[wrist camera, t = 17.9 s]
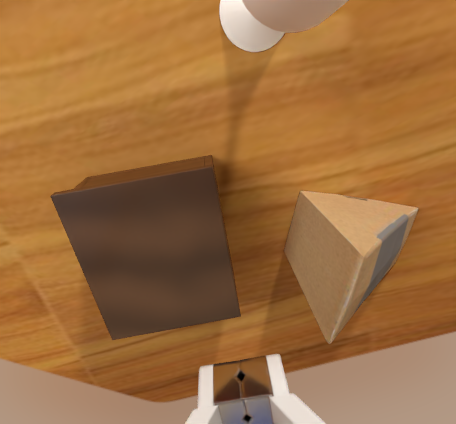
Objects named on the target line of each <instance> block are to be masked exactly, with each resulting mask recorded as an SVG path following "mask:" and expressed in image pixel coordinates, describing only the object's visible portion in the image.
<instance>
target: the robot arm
mask: <svg viewBox="0 0 456 424" xmlns="http://www.w3.org/2000/svg"><path fill="white" fill-rule="evenodd" d="M185 424H326V423H325V422H324V421H323V420H322V419H320V417H318V416H317V415H316V414H315V413H314V412H313V411H312V410H311V409H310V408H309V407H308V406H307V405H306V404H305V403H304V402H303V401H302V400H300V398H299V397H298V396H296V395H295V394H294V393H291V394H290V392H289V388H288V384H287V381H286V377H285V373H284V369H283V365H282V361H281V357H280V355H279V354H273V355H267V356H261V357H255V358H249V359H244V360H240V361H233V362H226V363H219V364H212V365H206V366H200V369H199V385H198V409H194V410H193V411H192V412H191V414H190V416H189V417H188V419H187V420H186V422H185Z"/></svg>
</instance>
